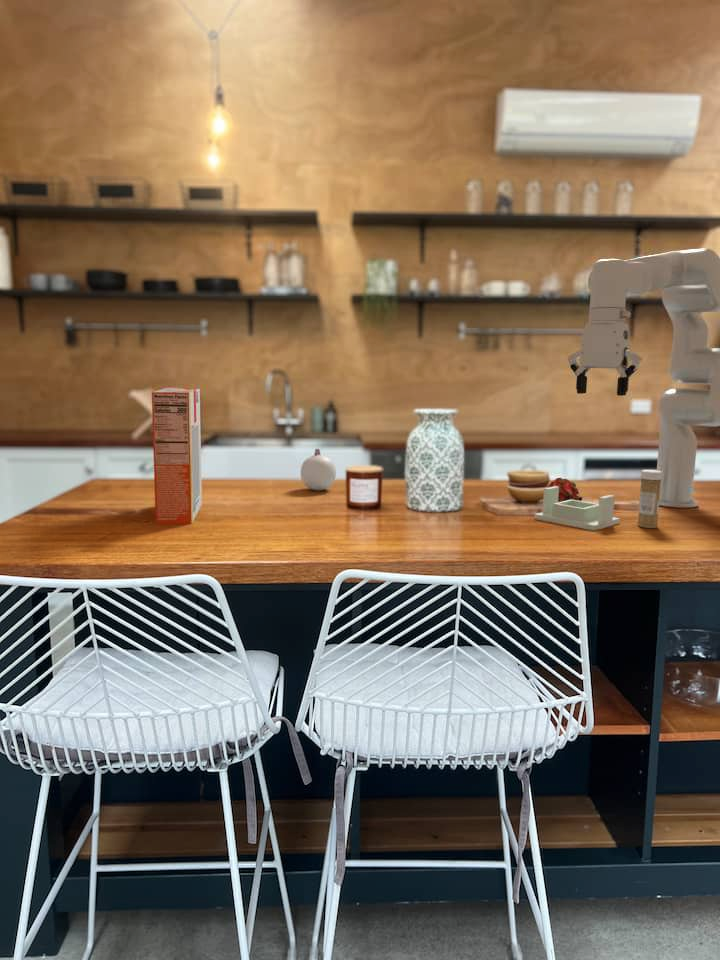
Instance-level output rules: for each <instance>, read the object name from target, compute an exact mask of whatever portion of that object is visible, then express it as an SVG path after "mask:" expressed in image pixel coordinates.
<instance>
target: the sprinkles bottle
mask: <svg viewBox="0 0 720 960" xmlns="http://www.w3.org/2000/svg"><path fill="white" fill-rule="evenodd" d="M640 478H641V480H640V481H641V483H640V491H639V501H638V519H637V524H636V525H637V526H639V527H641V528H645V529H655V528H657V527H658V519H659V508H660V505H659V495H660V482H661V479H662V472H661V471H658V470H657V469H642V470H641V472H640Z"/></svg>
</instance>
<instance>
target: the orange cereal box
mask: <svg viewBox="0 0 720 960" xmlns="http://www.w3.org/2000/svg"><path fill="white" fill-rule="evenodd" d="M200 393H201V391H200V388H199V387H195V388H194V387H190V388H189V387H166V388H162V389H159V390H155V391H153V392H151V407H152V408H151V412H152V414H151V415H152V418H151V419H152V442H153V443H152V449H153V475H154V476H153V478H154V480H153V482H154V509H155V511H154V513H155V514H154V515H155V516H154V517H155V525H192V523H193V522H194V520H195V519H196V516H197V514H198V512H199V510H200V508H201V507H202V505H203V494H202V492H203V489H202V444H201V443H202V440H201V439H202V438H201V432H202V431H201V399H200V398H201V394H200Z"/></svg>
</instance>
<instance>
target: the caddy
mask: <svg viewBox="0 0 720 960" xmlns="http://www.w3.org/2000/svg"><path fill="white" fill-rule="evenodd" d="M558 496H559V487H556V486H554V487H549V488H548V487H545V488H543V500H542V502H543V503H542V512H537V513H534V520H538V521H543V522H548V523H549V522H550V523H554V524H558V525H563V526H564V525H565V526H570V527H574V528H579V529H585V530H588V531H589V530H590V531H593V532H594V531H597V530H601V529H602V530H603V529H605V528H607V527H612V526H614V525H618V524H620V517H614V510H615V509H614V507H615V506H614V505H615V495H614V494H613V495H612V494H608V495H603V496H600V497H599V499H598V503H596V502H595V503H594V502H590V501H583V500H582V501H578V500H572V499H571V500H566V501H562V502H558Z"/></svg>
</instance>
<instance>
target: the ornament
mask: <svg viewBox="0 0 720 960" xmlns="http://www.w3.org/2000/svg"><path fill="white" fill-rule="evenodd" d="M336 474H337V470H336V465H335V464H334V461H332V459H330V458H329V457H328V456H325V455H322V454H321V451H320V448H315V449H314V455H311V456H309V457H306V459H305V460H304V461H303V463H302V465H301V467H300V479H301V482H302V483H303V484H304V486H305V487H307V488H308V489H310V490H313V491H324V490H327V489H328V488H330V487H331V486H332V485H333V484H334V483H335V479H336V476H337V475H336Z"/></svg>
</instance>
